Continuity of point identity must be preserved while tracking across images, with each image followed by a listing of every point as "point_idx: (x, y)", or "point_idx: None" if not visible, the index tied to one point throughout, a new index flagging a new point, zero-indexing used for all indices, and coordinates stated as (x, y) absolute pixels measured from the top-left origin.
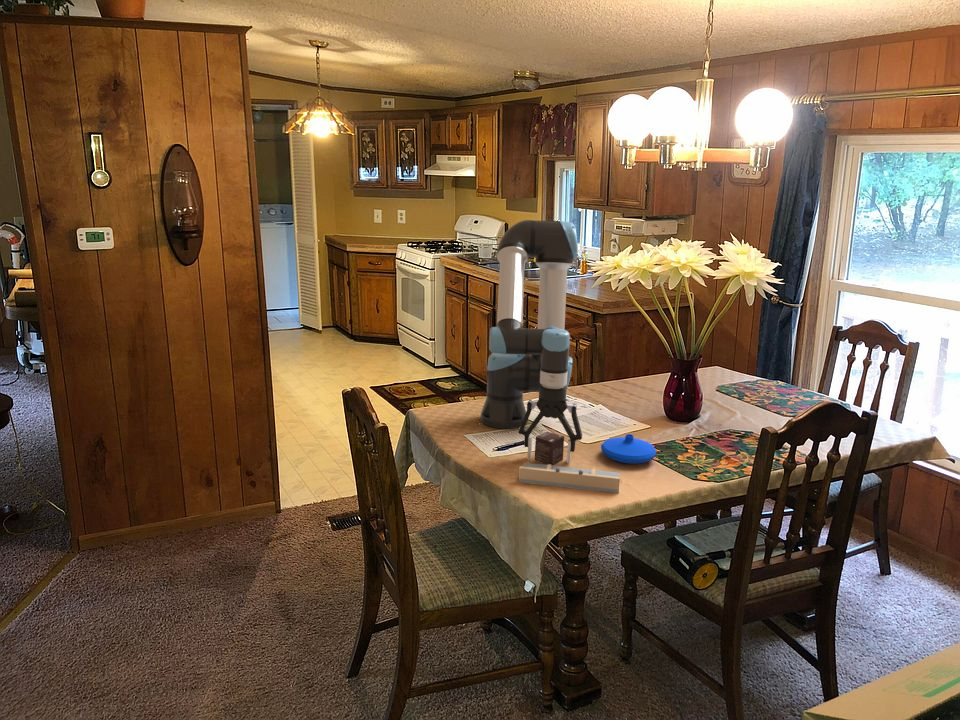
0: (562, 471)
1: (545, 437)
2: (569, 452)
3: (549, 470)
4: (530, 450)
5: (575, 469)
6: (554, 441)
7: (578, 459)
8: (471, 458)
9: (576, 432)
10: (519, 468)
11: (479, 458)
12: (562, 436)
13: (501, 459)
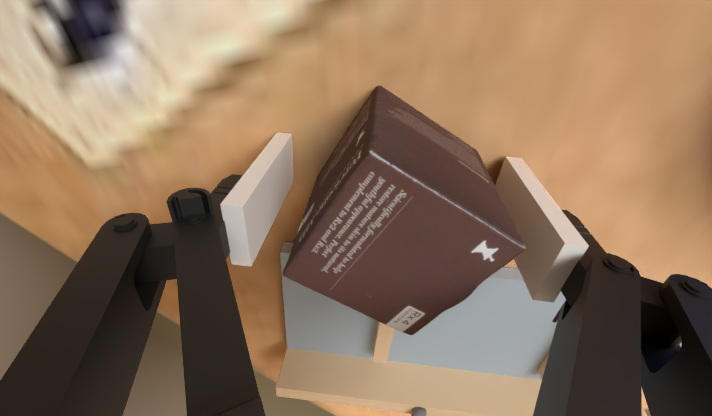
0: (437, 411)
1: (358, 283)
2: None
3: (387, 407)
4: (279, 205)
5: (512, 290)
6: (424, 325)
7: (582, 124)
8: (34, 193)
9: (647, 384)
10: (277, 393)
11: (64, 189)
12: (508, 255)
13: (160, 186)
